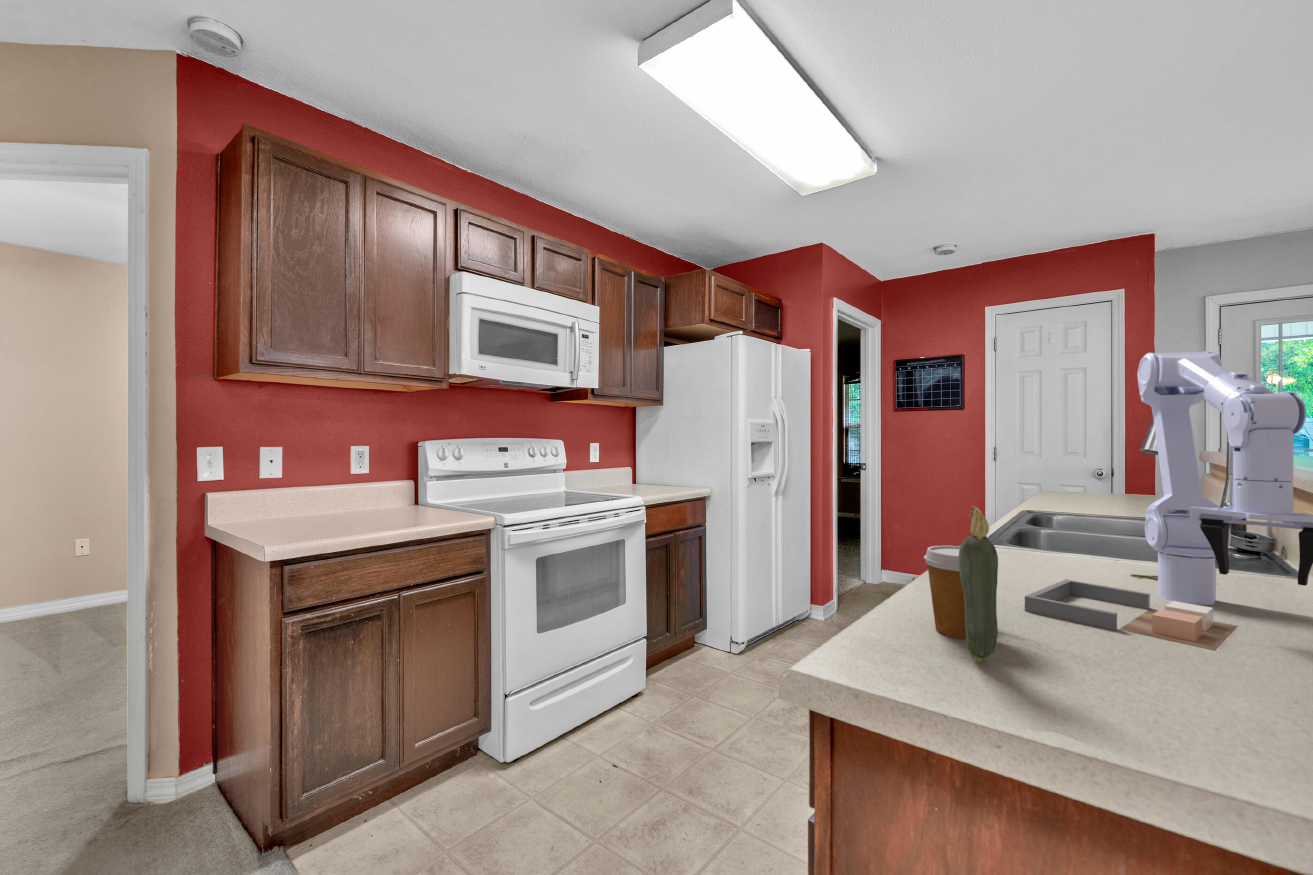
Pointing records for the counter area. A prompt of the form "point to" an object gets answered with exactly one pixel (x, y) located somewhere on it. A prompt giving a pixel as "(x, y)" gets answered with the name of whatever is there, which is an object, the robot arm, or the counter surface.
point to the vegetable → (979, 587)
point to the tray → (1050, 606)
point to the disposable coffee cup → (946, 590)
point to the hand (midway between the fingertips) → (1261, 578)
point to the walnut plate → (1206, 640)
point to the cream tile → (1193, 612)
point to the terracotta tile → (1177, 624)
